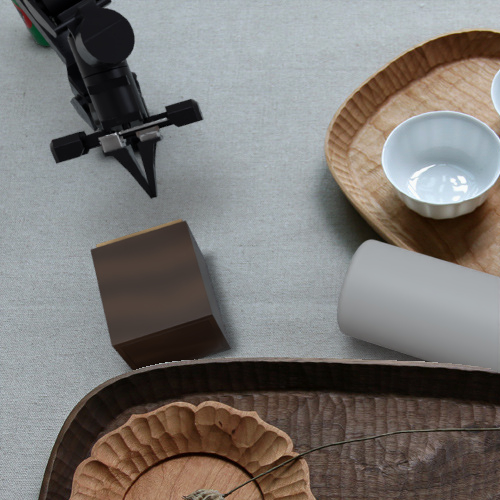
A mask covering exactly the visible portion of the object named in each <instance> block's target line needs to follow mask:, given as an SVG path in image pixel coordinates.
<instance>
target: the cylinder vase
mask: <svg viewBox="0 0 500 500" xmlns="http://www.w3.org/2000/svg"><path fill="white" fill-rule="evenodd" d="M336 322H337V326H338V329H339V330H340V332H341V333H342V334H343V335H345V336H348V337H351V338H354V339H358V340H360V341H364V342H367V343H369V344H372V345H376V346H379V347H382V348H385V349H388V350H392V351H395V352H398V353H401V354H404V355H407V356H410V357H413V358H416V359H420V360H423V361H426V362H429V363H432V362H438V363H452V364H462V365H471V366H479V367H483V368H491V369H489V370H495V372H498V373H500V276H498V275H494V274H492V273H491V274H490V273H489V272H488V273H487V272H484V271H481V270H477V269H474V268H471V267H467V266H463V265H460V264H457V263H455V262H451V261H446V260H443V259H441V258H436V257H434V256H430V255H427V254H423V253H420V252H416V251H413V250H410V249H406V248H403V247H401V246H396V245H393V244H389V243H386V242H382V241H380V240H376V239H368V240H365V241H363V242H362V243H361V244H360V245H359V246H358V248H357V249H356V250H355V252H354V253H353V255H352V257H351V259H350V261H349V263H348V265H347V267H346V271H345V273H344V277H343V280H342V283H341V286H340V291H339V295H338V300H337V308H336Z"/></svg>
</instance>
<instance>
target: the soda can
mask: <svg viewBox="0 0 500 500" xmlns="http://www.w3.org/2000/svg"><path fill="white" fill-rule="evenodd" d="M10 1H11V3H12V4H13V6H14V8H15V9H16V11H17V13H18V15H19V16H20V18H21V20H22V21H23V23H24V25H25V27H26V28H27V30H28V32H29V33H30V35H31V37H32V38H33V41H34V42H35V43H36V44H37V45H40V46H43V47H51V46H50V45H49V43H48V42H47V41H46V39H45V38H44V37H43V36H42V34H41V33H40V32H39V30H38V29H37V28H36V27H35V25H34V24H33V23H32V21H31V20H30V19H29V18H28V16H27V15H26V14H25V12H24V11H23V10H22V9H21V7H20V6H19V5H18V3H17V2H16V1H15V0H10Z"/></svg>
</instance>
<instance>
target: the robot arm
mask: <svg viewBox="0 0 500 500" xmlns="http://www.w3.org/2000/svg"><path fill="white" fill-rule="evenodd" d="M15 1H16V2H17V3H18V5H19V6H20V7H21V9H22V10H23V11H24V12H25V14H26V15H27V16H28V18H29V19H30V20H31V21H32V23H33V24H34V25H35V27H36V28H37V29H38V30H39V32H40V33H41V34H42V36H43V37H44V38H45V39H46V41H47V42H48V43H49V45H50V46H49V47H51V48H52V50H53V51H54V53H55V54H56V55H57V57H58V58H59V59H60V60H61V62H62V63H63V64H64V66H65V68H66V74H67V75H66V76H67V81H68V84H69V87H70V90H71V93H72V95H73V97H72V98H71V99H70V104H71V105H72V107H73V108H74V110H75V111H76V113H77V114H78V116H80V118H81V119H82V120H83V121H84V122H85V123H86V125H88V126H89V128H91V129H92V131H93V133H88V134H87V133H86V131H85V130H81V131H77V132H73V133H69V134H67V135H64V136H60V137H57V138H53V139H51V141H50V143H49V149H50V152H51V155H52V157H53V160H54V162H55V164H60V163H64V162H67V161H71V160H73V159H78V158H81V157H82V156H85V155H88V154H90V151H91V150H93V149H97V148H99V147H101V149H102V155H103V157H104V158H107V157H112V158H114V159H115V160H116V161H117V162H118V163H119V164H120V165H121V166H122V167H123V168H124V169H125V170H126V171H127V172H128V173H129V174H130V176H132V178H133V179H134V180H135V181H136V183H137V184H138V185H139V186H140V187H141V189H142V190H143V191H144V192H145V193H146V194H147V196H148V197H149V199H150V200H152V199H156V198H158V185H157V184H158V183H157V170H156V159H157V146H158V142H161V141H164V134H162V133H161V132H162V129H163V128H168V127H170V126H175V127H177V128H182V127H184V126H188V125H191V124H195V123H198V122H201V121H204V120H205V118H204V115H203V112H202V109H201V107H200V103H199V102H198V101H197V100H195V99H193V98H189V99H186V100H182V101H179V102H176V103H175V102H174V103H172V104H168V105H165V106H164V109H165V111H163V112H160V113H157V114H153V115H151V114H150V112H149V109H148V106H147V104H146V101H145V98H144V96H143V93H142V90H141V86H140V82H139V80H138V75H137V74H136V72H134V71H132V70H131V68H130V66H129V62H128V60H127V59H128V58H129V57H130V55H132V52H133V50H134V48H135V43H136V38H135V32H134V29H133V27H132V24H131V23H130V21H129V20H128V19H127V17H125V16H124V15H123V14H122V13H120V12H118V11H117V10H115V9H112V8H108V6H110V5H111V4H112V2H113V1H112V0H15ZM135 153H139V156H140V159H141V163H142V166H143V168H142V166H141V165H140V163H139V161H138V159H137V157H136V154H135ZM143 170H144V171H143Z"/></svg>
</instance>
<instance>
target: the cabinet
mask: <svg viewBox="0 0 500 500" xmlns="http://www.w3.org/2000/svg"><path fill="white" fill-rule="evenodd" d="M90 255H91V259H92V263H93V268H94V273H95V277H96V281H97V286H98V290H99V295H100V300H101V304H102V309H103V313H104V317H105V321H106V326H107V327H106V328H107V330H108V331H107V332H108V335H109V340H110V345H111V347H112V348H113V349H114V350H115V351H116V352H117V354H118V355H119V356H120V358H121V359H122V360H123V361H124V363H126V365H127V366H128V368H130V369H131V371H132V370H136V369H139V368H142V367H146V366H150V365H155V364H159V363H165V362H172V361H181V360H194V359H197V360H199V359H204V358H206V357H209V356H213V355H215V354H219V353H222V352H225V351H228V350H231V349H232V347H231V344H230V341H229V340H230V339H229V336H228V333H227V329H226V326H225V323H224V319H223V316H222V312H221V309H220V305H219V302H218V298H217V295H216V291H215V288H214V284H213V281H212V278H211V274H210V270H209V268H208V267H209V266H208V262H207V260H206V258H205V256H204V254H203V252H202V250H201V248H200V246H199V244H198V242H197V240H196V237H195V236H194V234H193V232H192V230H191V228H190V226H189V223H188V222H187V220H182V222H179V223H175V224H172V225H169V226H165V227H162V228H159V229H156V230H152V231H149V232H146V233H143V234H139V235H136V236H133V237H130V238H126V239H123V240H120V241H116V242H113V243H110V244H107V245H103V246H100V247H94V248H91V249H90ZM194 361H195V360H194Z"/></svg>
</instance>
